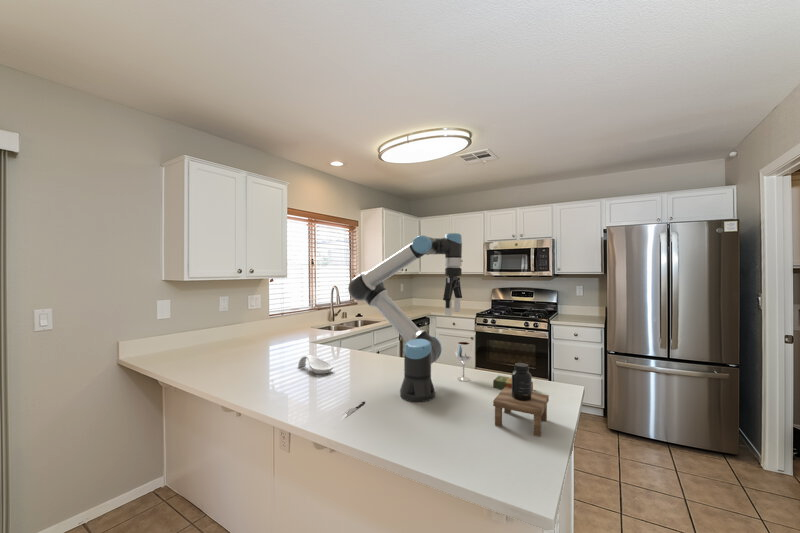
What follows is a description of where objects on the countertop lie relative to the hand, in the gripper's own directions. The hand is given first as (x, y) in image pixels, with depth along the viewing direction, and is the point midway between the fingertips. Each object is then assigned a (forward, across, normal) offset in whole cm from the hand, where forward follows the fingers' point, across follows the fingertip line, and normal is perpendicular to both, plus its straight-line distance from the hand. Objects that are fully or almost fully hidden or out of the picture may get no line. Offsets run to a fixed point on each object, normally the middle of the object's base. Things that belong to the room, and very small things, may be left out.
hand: (452, 313), depth 158 cm
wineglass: (+35, +16, -1) cm, 39 cm away
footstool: (+35, -21, -32) cm, 52 cm away
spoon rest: (+35, -6, +75) cm, 83 cm away
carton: (+35, +14, -25) cm, 45 cm away
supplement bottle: (+26, -21, -32) cm, 47 cm away
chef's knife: (+35, -41, +28) cm, 61 cm away
